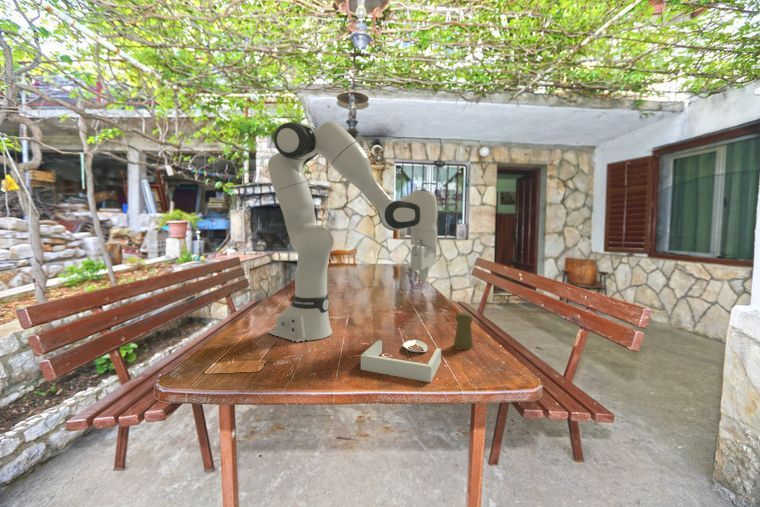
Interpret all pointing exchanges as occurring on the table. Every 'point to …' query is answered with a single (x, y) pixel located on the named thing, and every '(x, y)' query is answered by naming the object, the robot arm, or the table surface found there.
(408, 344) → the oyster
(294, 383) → the table surface
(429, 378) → the box
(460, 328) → the green tapered cylinder
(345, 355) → the table surface
